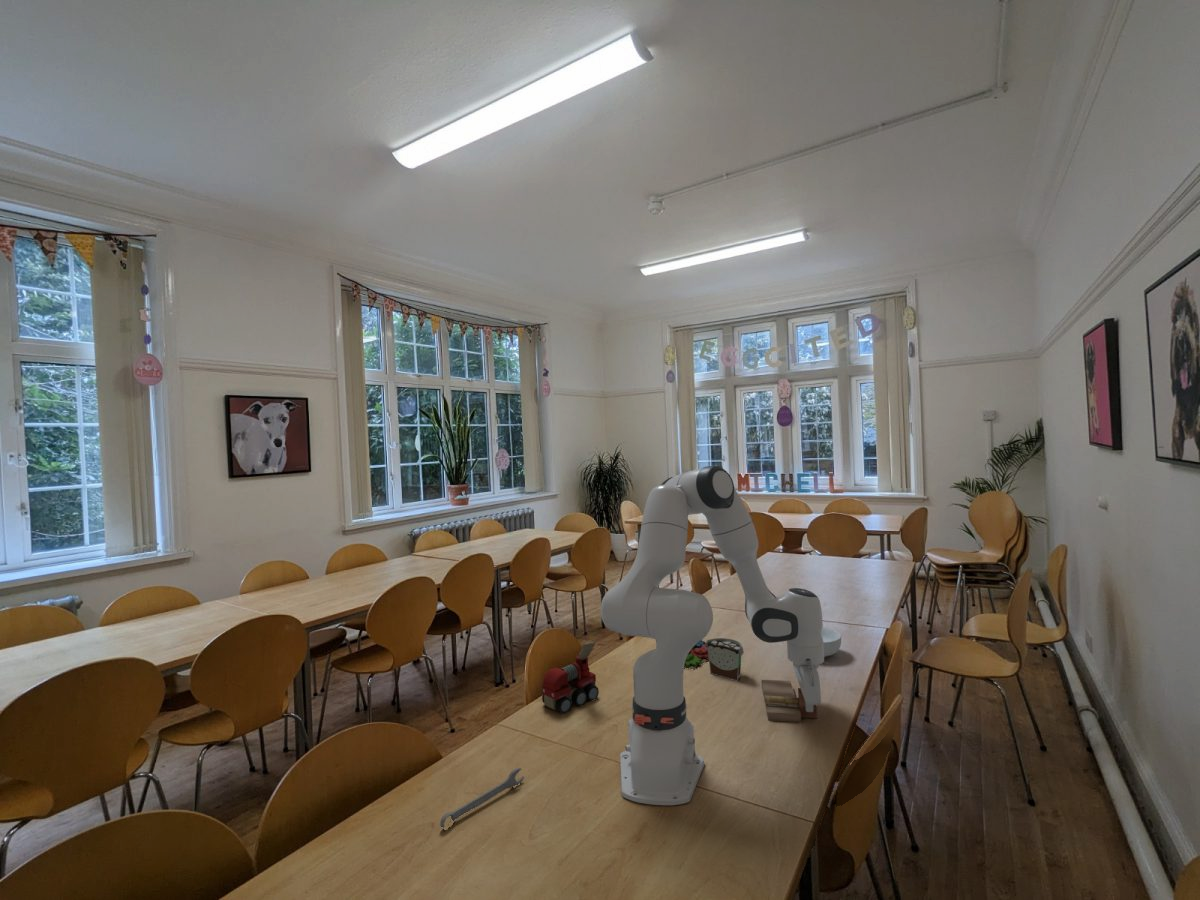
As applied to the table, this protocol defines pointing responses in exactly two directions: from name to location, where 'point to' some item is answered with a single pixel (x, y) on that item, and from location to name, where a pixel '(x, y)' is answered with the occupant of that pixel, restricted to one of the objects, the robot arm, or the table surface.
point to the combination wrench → (484, 796)
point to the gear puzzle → (696, 655)
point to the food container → (725, 657)
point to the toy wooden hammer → (791, 700)
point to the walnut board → (780, 709)
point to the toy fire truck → (570, 683)
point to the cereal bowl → (830, 641)
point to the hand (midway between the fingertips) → (807, 706)
